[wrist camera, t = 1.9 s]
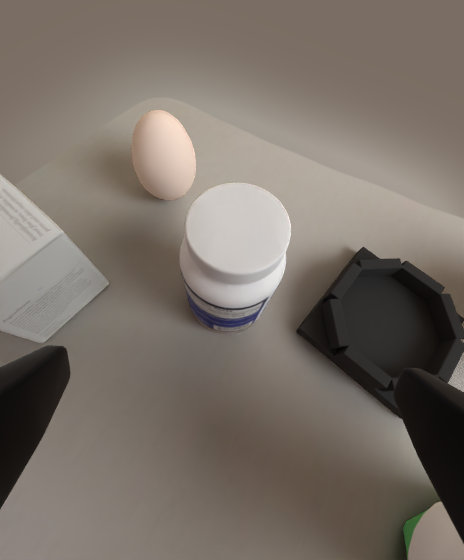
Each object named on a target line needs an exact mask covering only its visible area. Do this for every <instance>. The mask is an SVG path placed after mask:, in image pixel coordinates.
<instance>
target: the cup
mask: <svg viewBox="0 0 464 560" xmlns="http://www.w3.org/2000/svg"><path fill="white" fill-rule="evenodd" d="M403 532H404V537H405V544H406V554H407V560H464V544H463V542H462V540H461V538H460V536H459V534H458V532H457V531H456V529H455V527H454V525H453V523H452V521H451V519H450V517H449V515H448V513H447V511H446V509H445V508H444V506H443V504H442V502H437V503H435V504H434V505H433V506H432V507H431V508H429V509H428V510H426V511H424V512H422V513H420V514H419V515H417V516H415V517H413V518H412V519H410V520H406V522H405V525H404V527H403Z"/></svg>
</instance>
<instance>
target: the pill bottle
mask: <svg viewBox="0 0 464 560" xmlns="http://www.w3.org/2000/svg"><path fill="white" fill-rule="evenodd" d="M290 237H291V224H290V220H289V216H288V214H287V212H286V210H285V208H284V207H283V205H282V204H281V202H280V201H279V200H278V199H277V198H276V197H275V196H273V195H272V194H271V193H269V192H268V191H266V190H264V189H262V188H260V187H258V186H255V185H251V184H247V183H238V182H235V183H225V184H220V185H217V186H214V187H212V188H210V189H208V190H206V191H204V192H203V193H202V194H200V195H199V196H198V197H197V198H196V199H195V200H194V202H193V203H192V204H191V206H190V208H189V210H188V212H187V215H186V219H185V236H184V239H183V241H182V244H181V247H180V257H179V258H180V268H181V273H182V277H183V281H184V285H185V289H186V293H187V297H188V301H189V305H190V308H191V310H192V312H193V314H194V316H195V317H196V319H197V320H198V321H199V322H200V323H201V324H202V325H203V326H205V327H206V328H208V329H210V330H212V331H215V332H219V333H226V334H227V333H236V332H240V331H243V330H245V329H247V328H248V327H250V326H251V325H252V324H253V323H255V322H256V321H257V319H258V318H259V317H260V315H261V314H262V312H263V311H264V309H265V307H266V305H267V304H268V302H269V300H270V299H271V297H272V295H273V294H274V292H275V291H276V289H277V287H278V286H279V284H280V282H281V279H282V277H283V274H284V271H285V266H286V250H287V247H288V245H289V242H290Z"/></svg>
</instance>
